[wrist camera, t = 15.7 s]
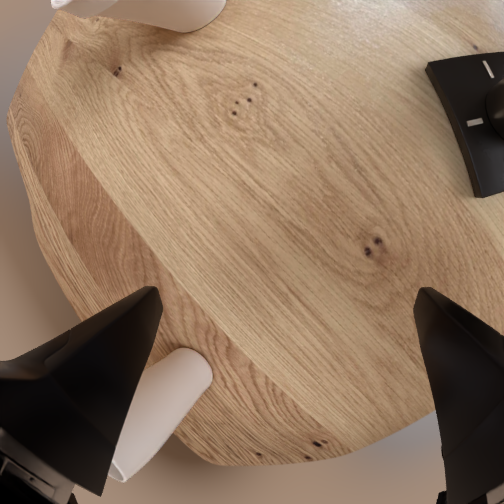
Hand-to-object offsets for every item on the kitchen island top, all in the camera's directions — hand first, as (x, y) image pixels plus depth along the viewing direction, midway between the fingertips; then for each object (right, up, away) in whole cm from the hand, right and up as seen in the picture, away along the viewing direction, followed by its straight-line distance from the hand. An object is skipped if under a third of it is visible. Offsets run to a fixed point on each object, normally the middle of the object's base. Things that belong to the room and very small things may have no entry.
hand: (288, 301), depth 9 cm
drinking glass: (-7, -11, +19) cm, 23 cm away
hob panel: (+17, +11, +4) cm, 21 cm away
